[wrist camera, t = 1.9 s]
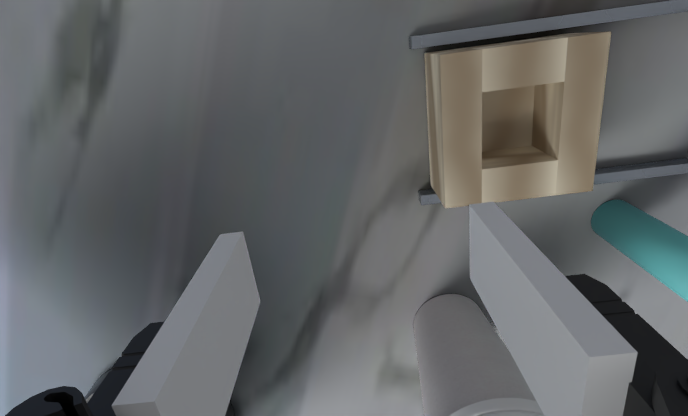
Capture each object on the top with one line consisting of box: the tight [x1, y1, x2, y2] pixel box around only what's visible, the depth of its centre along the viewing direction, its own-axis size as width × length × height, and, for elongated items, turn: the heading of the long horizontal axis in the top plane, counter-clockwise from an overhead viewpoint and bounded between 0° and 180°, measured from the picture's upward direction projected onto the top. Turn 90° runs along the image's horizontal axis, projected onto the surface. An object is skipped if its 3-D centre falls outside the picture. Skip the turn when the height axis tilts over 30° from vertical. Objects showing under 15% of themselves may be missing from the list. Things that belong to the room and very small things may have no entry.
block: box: [424, 32, 611, 208], centre depth 28 cm, size 10×10×5 cm
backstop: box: [409, 0, 688, 205], centre depth 26 cm, size 23×12×8 cm, turn 97°
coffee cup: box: [413, 294, 544, 416], centre depth 31 cm, size 10×10×15 cm
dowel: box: [591, 200, 688, 302], centre depth 28 cm, size 3×3×12 cm
